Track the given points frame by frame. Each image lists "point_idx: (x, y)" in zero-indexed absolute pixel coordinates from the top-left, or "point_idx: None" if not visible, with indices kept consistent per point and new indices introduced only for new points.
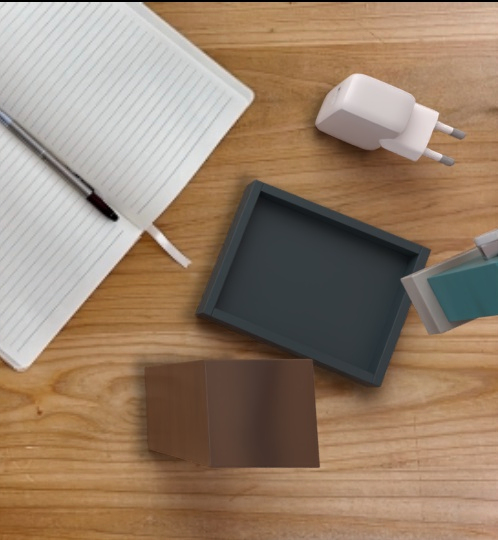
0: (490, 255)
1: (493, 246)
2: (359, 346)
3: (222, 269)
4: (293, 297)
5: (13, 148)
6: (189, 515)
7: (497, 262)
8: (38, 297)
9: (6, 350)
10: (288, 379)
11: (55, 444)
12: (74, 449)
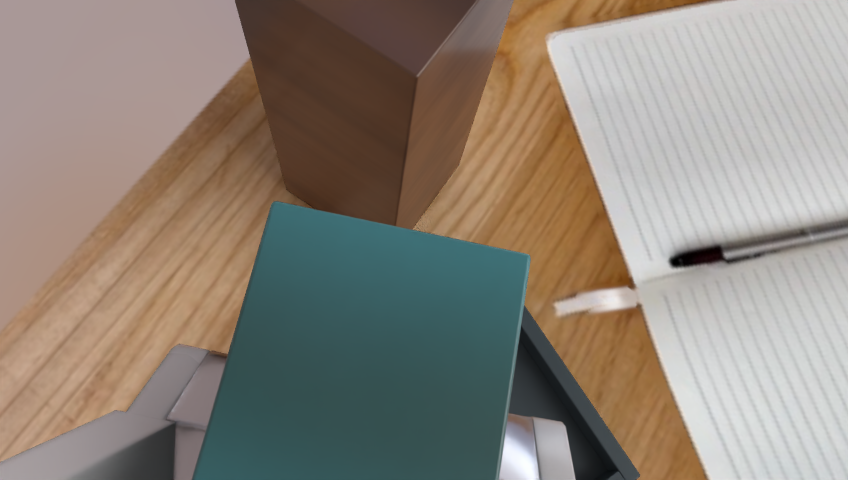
0: None
1: (516, 437)
2: None
3: (534, 326)
4: None
5: (833, 205)
6: (248, 90)
7: (528, 258)
8: (622, 108)
9: (580, 37)
10: (411, 13)
11: None
12: None
